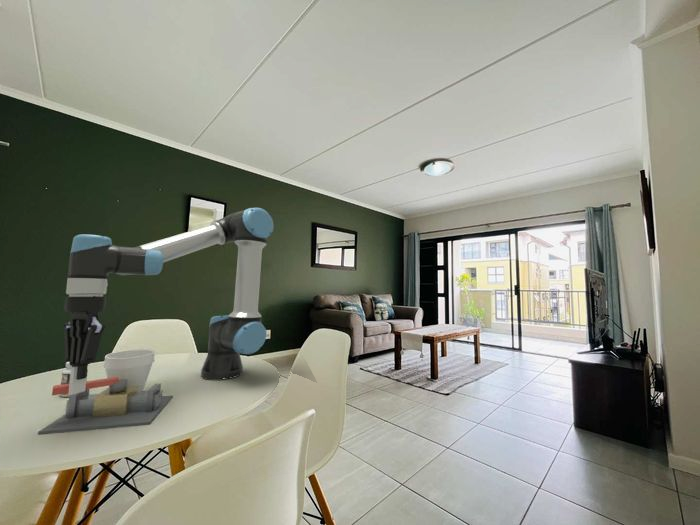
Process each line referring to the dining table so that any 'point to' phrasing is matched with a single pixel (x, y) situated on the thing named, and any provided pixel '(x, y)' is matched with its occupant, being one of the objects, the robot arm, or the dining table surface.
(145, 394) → the valve
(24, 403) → the dining table surface
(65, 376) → the pill bottle
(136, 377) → the cup
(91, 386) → the lever
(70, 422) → the mat
